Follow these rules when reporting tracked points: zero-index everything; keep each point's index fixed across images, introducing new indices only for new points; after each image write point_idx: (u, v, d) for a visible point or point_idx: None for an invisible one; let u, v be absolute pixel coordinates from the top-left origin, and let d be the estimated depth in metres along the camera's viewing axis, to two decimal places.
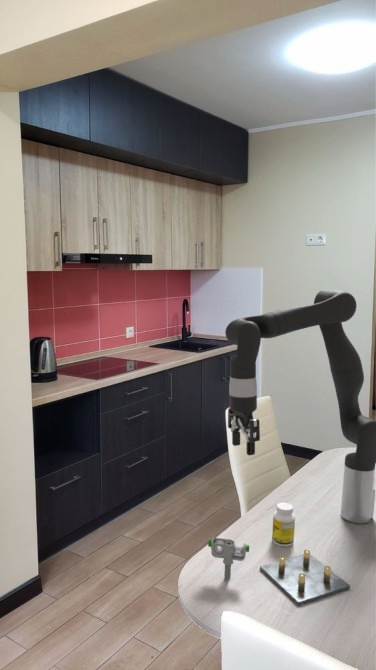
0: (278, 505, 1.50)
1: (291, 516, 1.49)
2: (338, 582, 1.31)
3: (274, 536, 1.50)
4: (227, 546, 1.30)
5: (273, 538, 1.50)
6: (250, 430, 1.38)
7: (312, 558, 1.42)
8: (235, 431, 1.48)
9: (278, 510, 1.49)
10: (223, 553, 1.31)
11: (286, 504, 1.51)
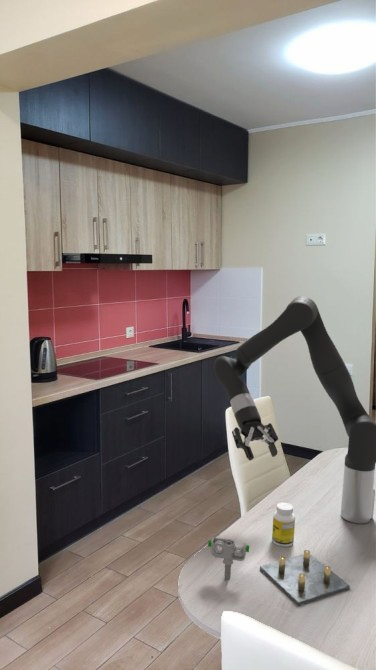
0: (278, 505, 1.50)
1: (291, 516, 1.49)
2: (338, 582, 1.31)
3: (274, 536, 1.50)
4: (227, 546, 1.30)
5: (273, 538, 1.50)
6: None
7: (312, 558, 1.42)
8: (269, 444, 1.63)
9: (278, 510, 1.49)
10: (223, 553, 1.31)
11: (286, 504, 1.51)
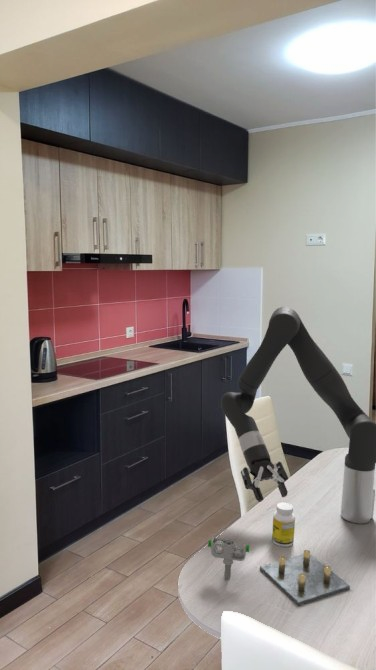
0: (278, 505, 1.50)
1: (291, 516, 1.49)
2: (338, 582, 1.31)
3: (274, 536, 1.50)
4: (227, 546, 1.30)
5: (273, 538, 1.50)
6: None
7: (312, 558, 1.42)
8: (278, 483, 1.59)
9: (278, 510, 1.49)
10: (223, 553, 1.31)
11: (286, 504, 1.51)
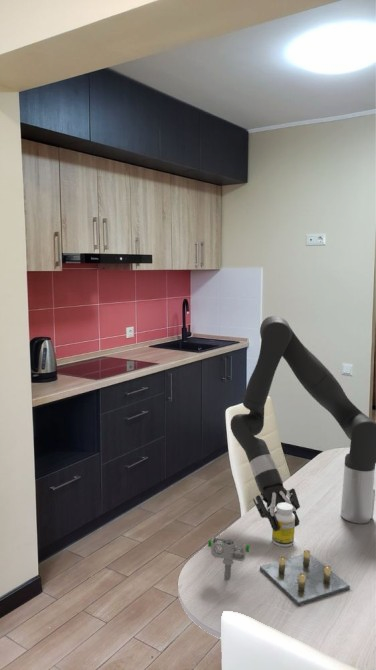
0: (278, 505, 1.50)
1: (291, 516, 1.49)
2: (338, 582, 1.31)
3: (274, 536, 1.50)
4: (227, 546, 1.30)
5: (273, 538, 1.50)
6: None
7: (312, 558, 1.42)
8: None
9: (278, 510, 1.49)
10: (223, 553, 1.31)
11: (286, 504, 1.51)
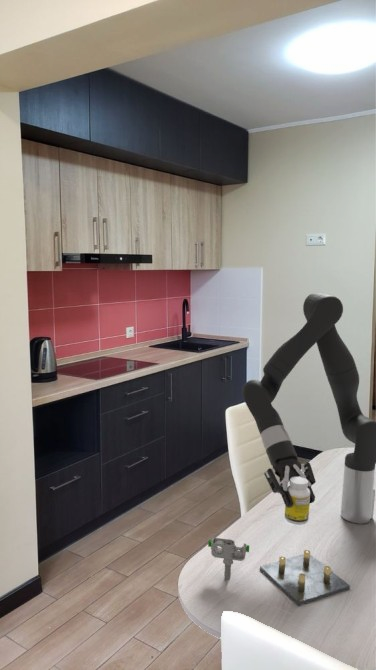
0: (291, 479, 1.37)
1: (306, 491, 1.35)
2: (338, 582, 1.31)
3: (287, 513, 1.36)
4: (227, 546, 1.30)
5: (286, 515, 1.37)
6: None
7: (312, 558, 1.42)
8: None
9: (291, 484, 1.35)
10: (223, 553, 1.31)
11: (301, 478, 1.37)
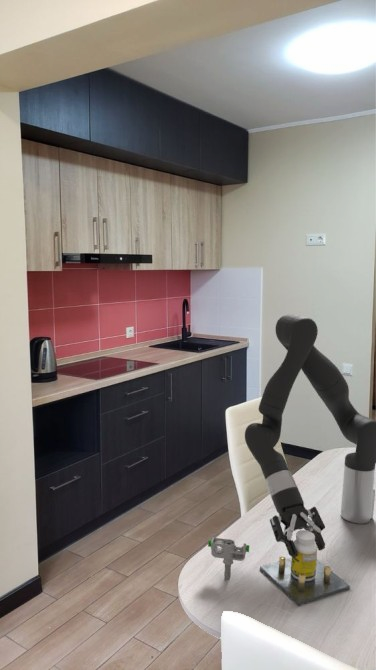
0: (298, 534, 1.33)
1: (313, 546, 1.31)
2: (338, 582, 1.31)
3: (293, 569, 1.32)
4: (227, 546, 1.30)
5: (292, 571, 1.33)
6: None
7: None
8: (314, 533, 1.36)
9: (298, 539, 1.31)
10: (223, 553, 1.31)
11: (307, 533, 1.33)
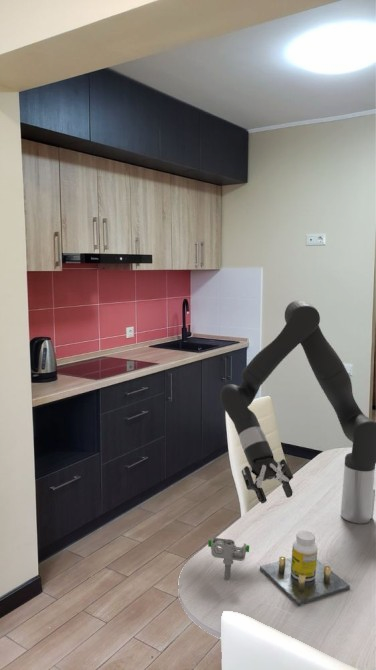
0: (298, 534, 1.33)
1: (313, 547, 1.31)
2: (338, 582, 1.31)
3: (294, 569, 1.32)
4: (227, 546, 1.30)
5: (292, 571, 1.33)
6: None
7: None
8: (283, 483, 1.47)
9: (298, 540, 1.31)
10: (223, 553, 1.31)
11: (307, 533, 1.33)
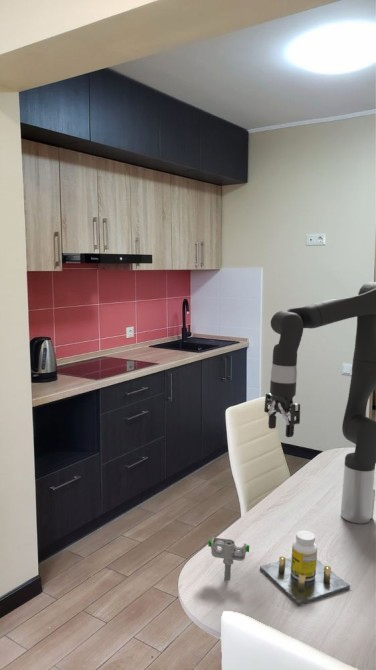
0: (298, 534, 1.33)
1: (313, 547, 1.31)
2: (338, 582, 1.31)
3: (294, 569, 1.32)
4: (227, 546, 1.30)
5: (292, 571, 1.33)
6: (291, 414, 1.49)
7: None
8: (272, 415, 1.59)
9: (298, 540, 1.31)
10: (223, 553, 1.31)
11: (307, 533, 1.33)
